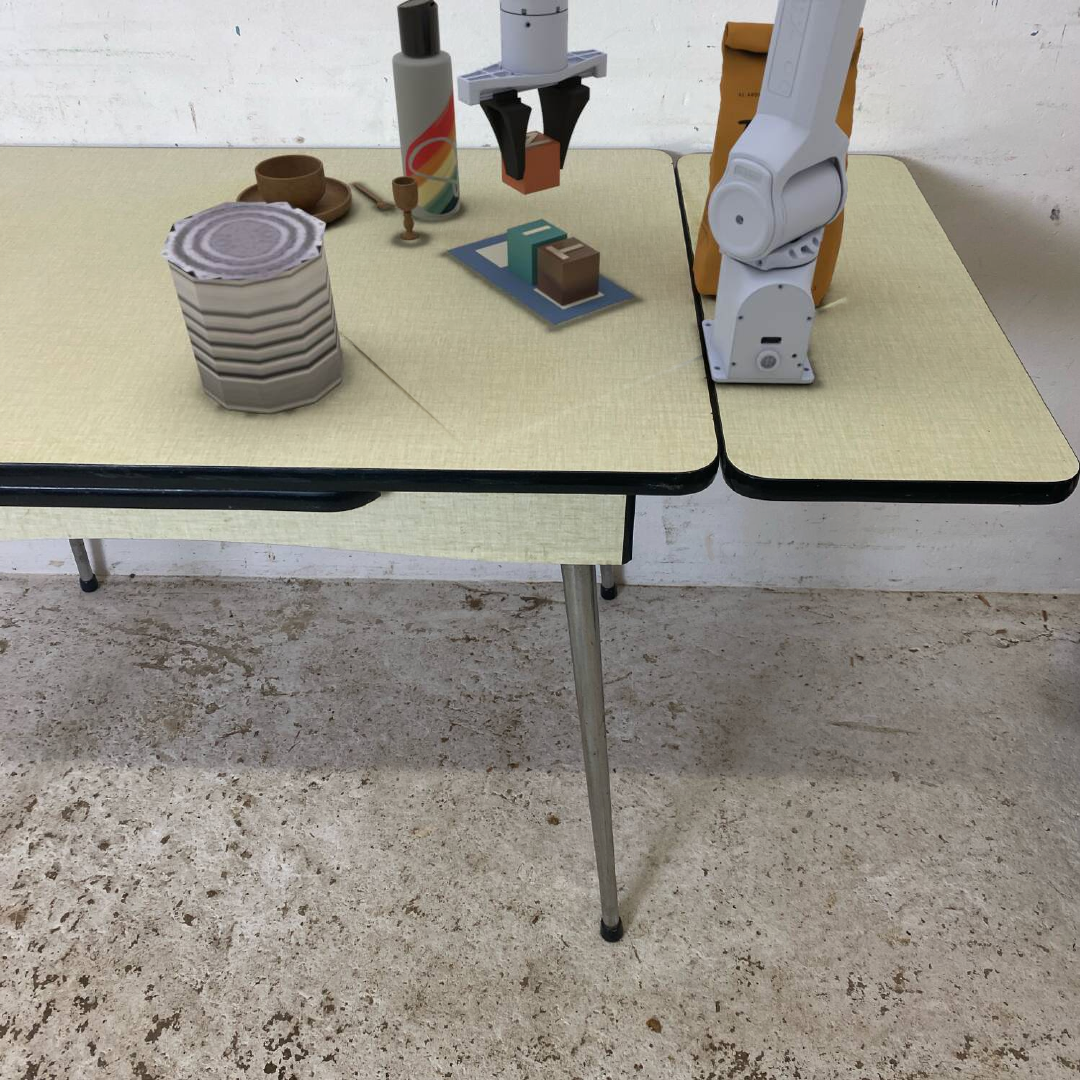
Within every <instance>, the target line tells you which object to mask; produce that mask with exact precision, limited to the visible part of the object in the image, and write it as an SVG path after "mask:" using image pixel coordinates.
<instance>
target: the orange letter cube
mask: <svg viewBox="0 0 1080 1080" xmlns="http://www.w3.org/2000/svg"><path fill="white" fill-rule="evenodd" d="M500 159H501V160H500V163H501V182H502V183H503V184H505V185H506V186H509V187H511V189H514V190H515V191H517V192H518V193H521V194H522V195H524V196H526V195H530V194H534V193H538V192H541V191H546V190H549V189H553V188H556V187H560V185H561V169H560V142H558V141H556V140H554V139H552V138H550V137H548V136H546V135H544V134H543V132H540V131H538V130H533V131H527V134H526V143H525V172H524V176H523V179H522V180H519V181H518V180H515V179H513V178H512V177H510V176H508V175H506V172H505V167H504V163H503V159H502V155H501V154H500Z"/></svg>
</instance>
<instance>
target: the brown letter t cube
mask: <svg viewBox="0 0 1080 1080" xmlns="http://www.w3.org/2000/svg"><path fill="white" fill-rule="evenodd" d="M600 261H601V252H600V251H598V250H596V249H595V248H593V247H591V246H590V245H588V244H587V243H585V242H583V241H582V240H580V239H579V238H577V237H575V236H572V237H569V238H568V237H567V239H565V240H561V241H558V242H554V243H551V244H548V245H544V246H541V247H538V248H537V288H538V290H540V291H541V292H543V293H544V294H546V295H547V296H548V297H550V298H551V299H553V300H554V301H556V302H557V303H559V304H560V305H562V306H564V305H567V304H570V303H573V302H577V301H580V300H583V299H586V298H589V297H592V296H595V295H598V290H599V274H600V265H601V262H600Z"/></svg>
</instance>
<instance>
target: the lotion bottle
mask: <svg viewBox="0 0 1080 1080" xmlns="http://www.w3.org/2000/svg"><path fill="white" fill-rule="evenodd" d="M396 12H397V13H396V14H397V22H398V32H399V33H398V35H399V42H400V51H399V52H397V53H395V54H394V55H393V56H392V59H391V63H392V64H391V65H392V75H393V84H394V85H393V87H394V96H395V105H396V106H395V107H396V115H397V116H396V117H397V126H398V127H397V128H398V136H399V145H400V146H399V147H400V154H401V166H402V176H410V177H414V178H416V179H417V185H418V204H417V206H416V207H415V208H414V209H413V210H411V211H412V216H414V217H418V218H424V219H440V218H446V217H449V216H452V215H454V214H456V213H458V211H459V210H460V208H461V196H460V195H461V194H460V192H461V191H460V176H459V159H458V158H459V157H458V141H457V127H456V126H457V125H456V112H455V111H456V110H455V95H454V94H455V93H454V80H453V78H454V77H453V65H452V64H453V63H452V57H451V54H450V53H449V52H448V51H445V50H442V49H441V33H440V32H441V31H440V15H439V4H438V3H437V2H436V1H435V0H405V1H403V2H401V3H399V4H398V5H397V6H396Z"/></svg>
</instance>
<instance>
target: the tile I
mask: <svg viewBox="0 0 1080 1080" xmlns="http://www.w3.org/2000/svg"><path fill="white" fill-rule="evenodd" d="M506 233H507V253H508V270H509V271H511V272H512V273H514V274H515V275H517V276H518V277H520V278H521V279H523V280H524V281H526V282H527V283H529V284H530V285H535V284H537V248H538V247H541V246H544V245H548V244H551V243H554V242H558V241H561V240H565V239H568V232H566V231H564V230H563V229H560V228H559V227H557V226H555V225H554V224H552V223H551V222H549V221H547V220H545V219H544V218H540V219H536V220H533V221H530V222H526V223H523V224H519V225H516V226H513V227H510V228H507V229H506Z"/></svg>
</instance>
